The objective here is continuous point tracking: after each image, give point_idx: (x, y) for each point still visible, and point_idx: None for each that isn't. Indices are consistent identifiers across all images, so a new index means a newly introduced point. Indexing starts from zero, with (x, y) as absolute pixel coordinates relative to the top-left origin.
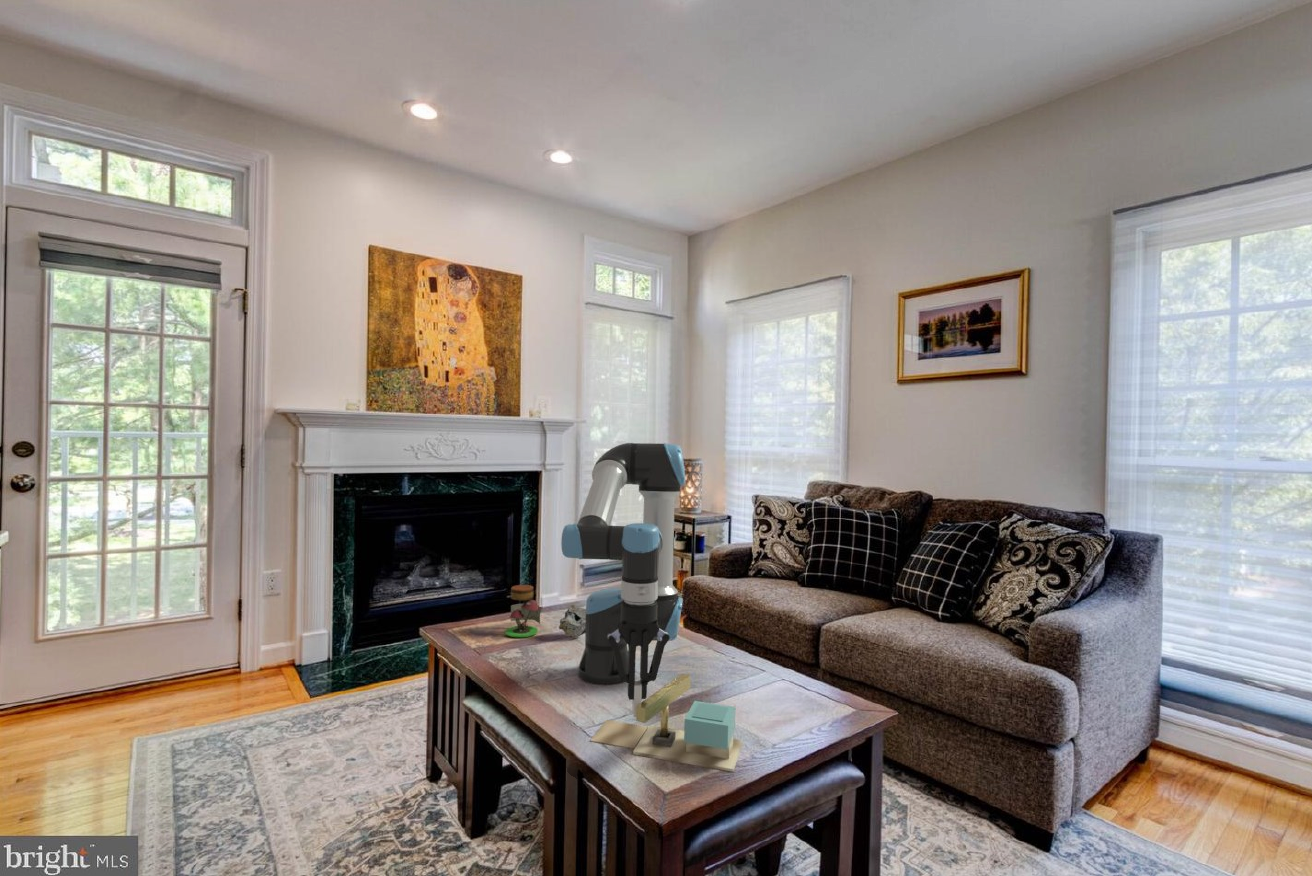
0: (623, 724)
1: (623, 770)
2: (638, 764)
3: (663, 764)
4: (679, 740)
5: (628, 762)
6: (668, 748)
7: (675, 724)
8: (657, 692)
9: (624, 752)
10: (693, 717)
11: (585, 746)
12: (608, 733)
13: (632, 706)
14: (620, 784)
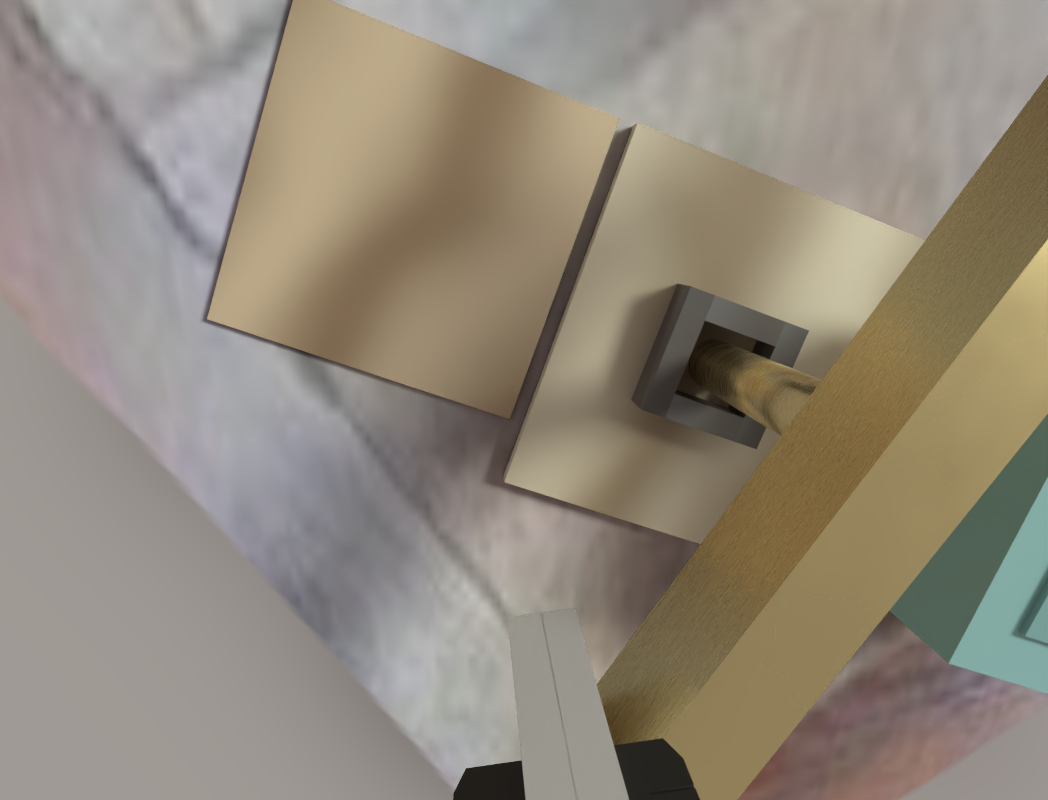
0: (434, 76)
1: (448, 636)
2: (533, 579)
3: (672, 576)
4: (810, 348)
5: (476, 560)
6: (725, 448)
7: (822, 71)
8: (824, 557)
9: (450, 454)
10: (1027, 637)
11: (189, 383)
12: (329, 220)
13: (510, 647)
14: (436, 752)
